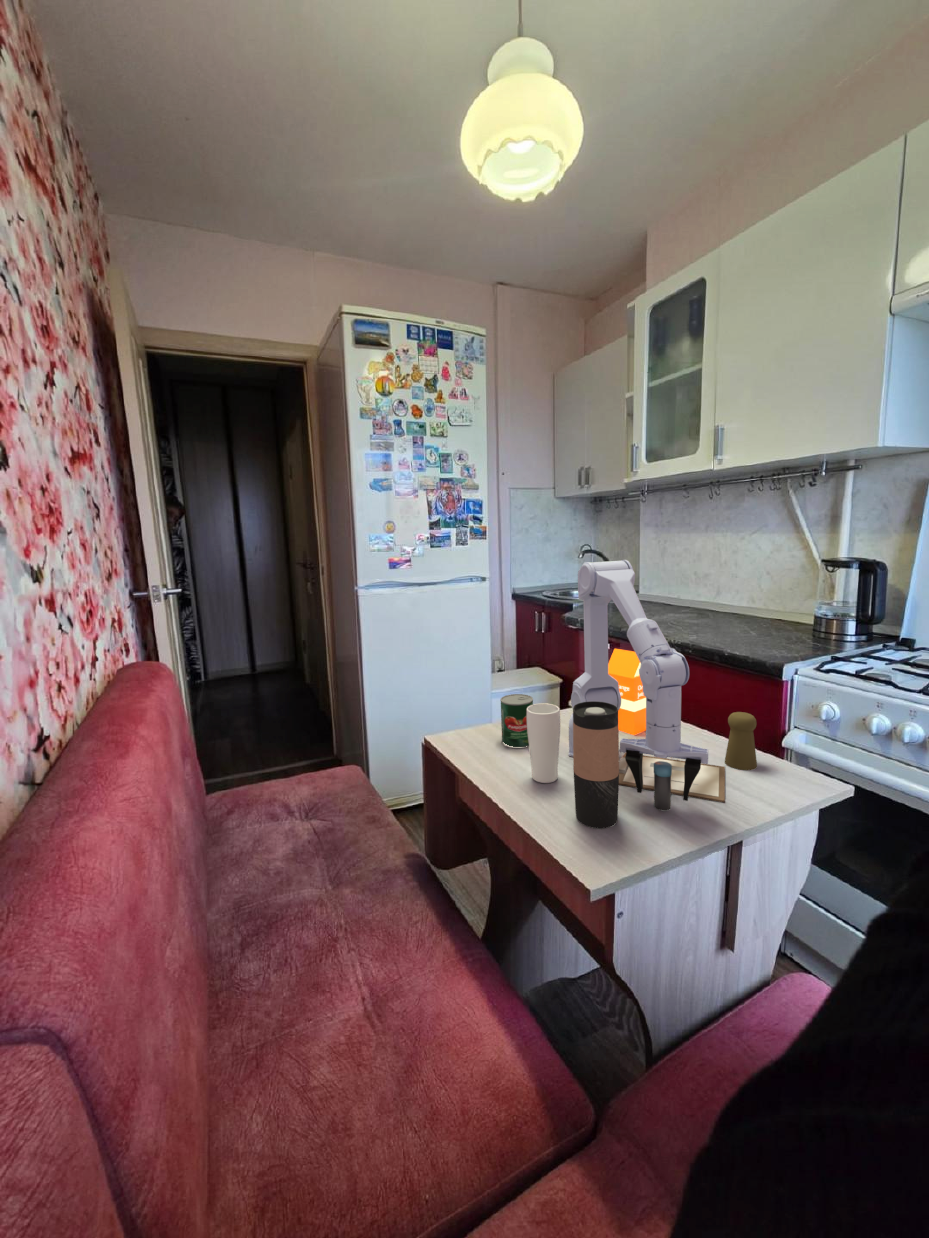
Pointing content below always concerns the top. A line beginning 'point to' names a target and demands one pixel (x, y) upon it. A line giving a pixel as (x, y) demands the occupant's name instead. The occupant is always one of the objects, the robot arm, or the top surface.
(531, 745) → the drinking glass
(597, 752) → the travel mug
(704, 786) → the clipboard
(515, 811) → the top surface
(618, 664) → the orange juice
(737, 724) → the cork
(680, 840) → the top surface
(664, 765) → the marker
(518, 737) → the canned tomato
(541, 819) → the top surface
